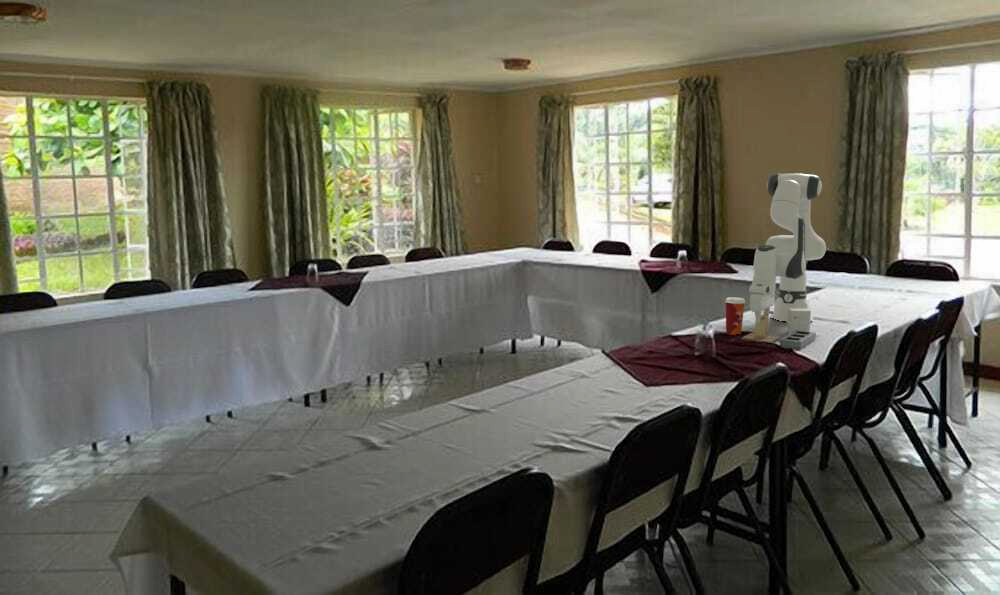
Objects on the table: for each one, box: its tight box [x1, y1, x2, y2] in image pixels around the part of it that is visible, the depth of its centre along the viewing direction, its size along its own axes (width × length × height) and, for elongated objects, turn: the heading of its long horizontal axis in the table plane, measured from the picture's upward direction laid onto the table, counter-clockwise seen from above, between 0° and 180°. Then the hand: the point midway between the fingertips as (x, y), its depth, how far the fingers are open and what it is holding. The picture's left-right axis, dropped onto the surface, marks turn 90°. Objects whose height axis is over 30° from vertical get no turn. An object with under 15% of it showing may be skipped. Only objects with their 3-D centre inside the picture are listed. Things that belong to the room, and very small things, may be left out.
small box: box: [786, 308, 812, 334], centre depth 326 cm, size 8×6×10 cm
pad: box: [740, 332, 781, 344], centre depth 315 cm, size 12×12×1 cm
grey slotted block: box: [778, 330, 817, 351], centre depth 309 cm, size 22×8×3 cm, turn 144°
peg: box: [754, 313, 770, 339], centre depth 314 cm, size 4×4×9 cm
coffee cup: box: [724, 296, 746, 336], centre depth 326 cm, size 8×8×15 cm
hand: (761, 319), depth 314 cm, fingers open, 8 cm apart
